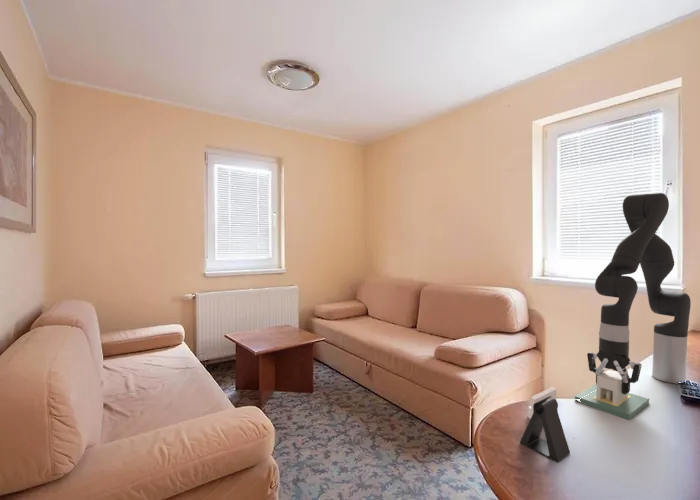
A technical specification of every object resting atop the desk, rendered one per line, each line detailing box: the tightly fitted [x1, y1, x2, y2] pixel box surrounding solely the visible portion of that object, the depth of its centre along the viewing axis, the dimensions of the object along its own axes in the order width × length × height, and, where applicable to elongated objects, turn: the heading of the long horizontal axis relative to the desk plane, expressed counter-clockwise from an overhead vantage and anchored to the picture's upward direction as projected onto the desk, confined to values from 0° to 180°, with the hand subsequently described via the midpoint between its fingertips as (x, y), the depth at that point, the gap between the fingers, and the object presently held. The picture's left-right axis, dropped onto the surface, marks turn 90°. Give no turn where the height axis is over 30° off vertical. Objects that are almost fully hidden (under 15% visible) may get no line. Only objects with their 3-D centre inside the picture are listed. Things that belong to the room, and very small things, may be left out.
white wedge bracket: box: [527, 386, 557, 420], centre depth 96 cm, size 4×10×9 cm, turn 84°
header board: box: [574, 383, 650, 421], centre depth 108 cm, size 18×14×4 cm
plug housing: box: [596, 369, 628, 405], centre depth 108 cm, size 10×5×7 cm, turn 125°
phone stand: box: [519, 397, 571, 463], centre depth 83 cm, size 9×6×12 cm, turn 34°
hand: (612, 389), depth 108 cm, fingers open, 6 cm apart
